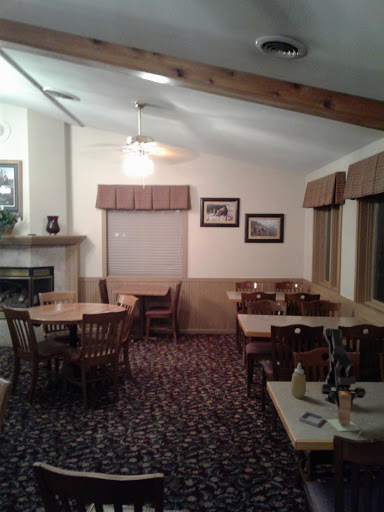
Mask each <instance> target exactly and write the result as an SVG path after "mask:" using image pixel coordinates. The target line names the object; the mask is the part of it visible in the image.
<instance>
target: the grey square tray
mask: <svg viewBox="0 0 384 512" xmlns="http://www.w3.org/2000/svg"><path fill="white" fill-rule="evenodd" d="M298 421H299V422H302V423H304V424H308V425H311V426H314V427H316V428H317V427H319V426H320V425H321V424H322V423H323V422H324V421H325V416H323V415H321V414H317V413H313V412H311V411H308V410H306V411H305V412H304V413H302V415H300V416H299V417H298Z"/></svg>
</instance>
